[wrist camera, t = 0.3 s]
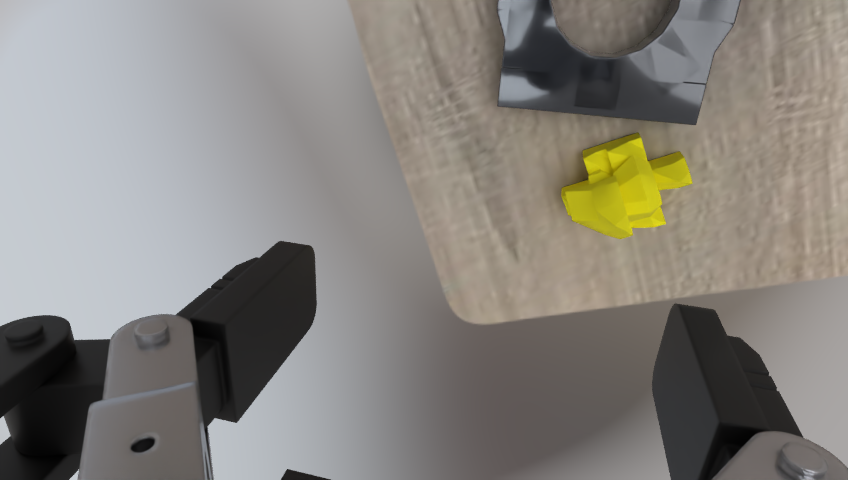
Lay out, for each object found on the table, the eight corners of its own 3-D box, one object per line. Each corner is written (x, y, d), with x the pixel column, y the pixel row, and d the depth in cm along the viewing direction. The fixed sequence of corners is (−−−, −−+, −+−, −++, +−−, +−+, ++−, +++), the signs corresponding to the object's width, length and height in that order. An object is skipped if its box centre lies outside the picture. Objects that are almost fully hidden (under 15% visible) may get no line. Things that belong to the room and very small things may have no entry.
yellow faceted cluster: (693, 201, 37) (721, 246, 31) (577, 233, 40) (579, 281, 33) (671, 121, 36) (696, 149, 29) (552, 160, 39) (549, 194, 32)
